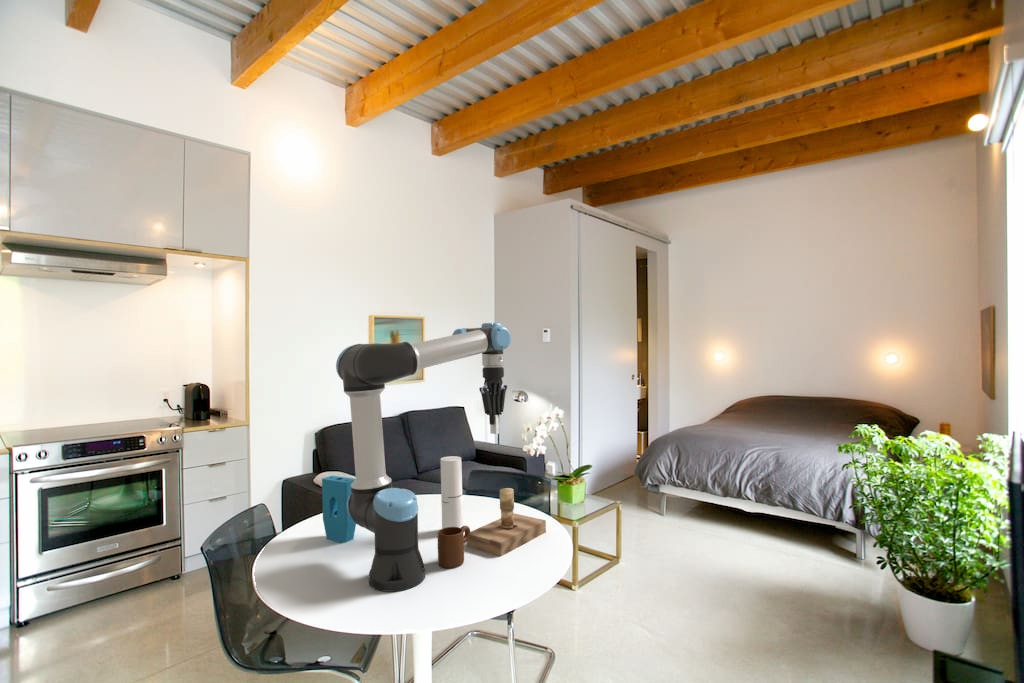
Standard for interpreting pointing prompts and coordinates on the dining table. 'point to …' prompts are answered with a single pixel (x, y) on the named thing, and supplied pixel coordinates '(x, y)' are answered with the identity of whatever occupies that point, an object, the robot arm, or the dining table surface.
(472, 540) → the seat board
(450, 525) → the cylindrical container
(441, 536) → the mug
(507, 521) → the oak peg
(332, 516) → the block
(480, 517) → the dining table surface
